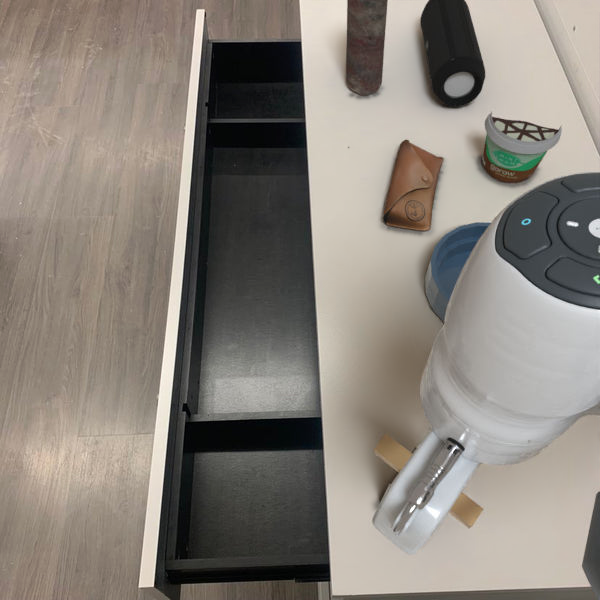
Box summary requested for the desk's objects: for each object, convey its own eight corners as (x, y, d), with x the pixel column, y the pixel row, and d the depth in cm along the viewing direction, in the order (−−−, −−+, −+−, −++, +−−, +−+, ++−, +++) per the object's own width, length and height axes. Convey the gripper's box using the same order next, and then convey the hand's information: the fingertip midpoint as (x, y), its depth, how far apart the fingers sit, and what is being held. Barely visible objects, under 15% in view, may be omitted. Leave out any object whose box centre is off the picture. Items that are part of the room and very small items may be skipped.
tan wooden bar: (480, 511, 54) (483, 508, 53) (468, 528, 53) (472, 526, 52) (384, 437, 59) (385, 433, 57) (372, 452, 58) (373, 448, 57)
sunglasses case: (433, 231, 87) (417, 205, 83) (394, 238, 91) (377, 213, 87) (445, 155, 96) (431, 128, 92) (409, 165, 100) (394, 139, 96)
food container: (467, 179, 94) (481, 135, 85) (473, 155, 97) (488, 110, 88) (539, 195, 91) (561, 151, 83) (543, 170, 94) (565, 125, 86)
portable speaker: (415, 34, 117) (423, -13, 108) (461, 32, 116) (472, -14, 108) (429, 111, 103) (438, 66, 95) (480, 110, 103) (494, 64, 94)
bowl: (560, 283, 82) (576, 260, 77) (504, 363, 75) (517, 345, 70) (461, 229, 88) (470, 204, 83) (402, 298, 82) (407, 277, 77)
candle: (337, 86, 108) (339, -14, 91) (358, 68, 111) (364, -32, 94) (367, 101, 106) (375, 1, 89) (388, 82, 108) (400, -19, 91)
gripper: (449, 565, 28) (415, 583, 40) (610, 307, 36) (541, 385, 48) (354, 488, 31) (348, 526, 42) (524, 260, 38) (479, 346, 50)
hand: (451, 450), depth 45 cm, fingers open, 8 cm apart
